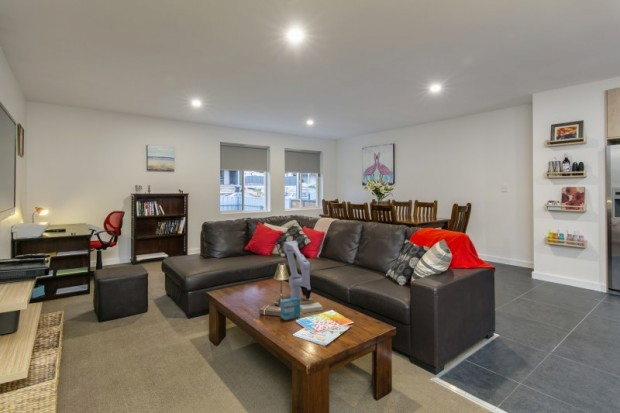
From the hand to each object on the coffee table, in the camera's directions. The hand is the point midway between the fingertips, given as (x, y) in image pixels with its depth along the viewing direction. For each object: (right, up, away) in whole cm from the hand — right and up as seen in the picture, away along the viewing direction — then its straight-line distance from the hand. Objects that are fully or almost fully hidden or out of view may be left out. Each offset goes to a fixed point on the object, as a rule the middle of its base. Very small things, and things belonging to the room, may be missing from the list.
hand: (306, 297), depth 227 cm
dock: (+4, -6, -10) cm, 12 cm away
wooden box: (0, -6, 0) cm, 6 cm away
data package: (-10, -7, -23) cm, 26 cm away
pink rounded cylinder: (0, -2, 0) cm, 2 cm away
